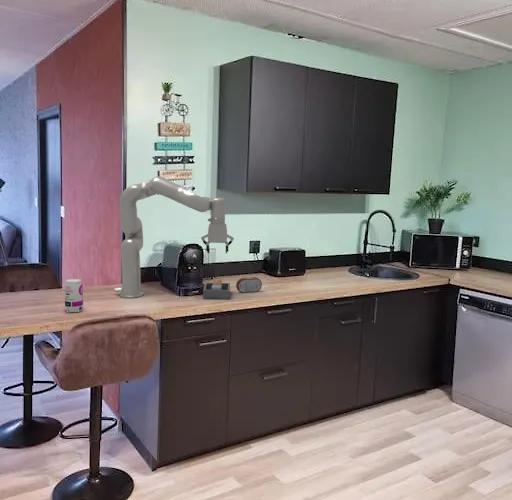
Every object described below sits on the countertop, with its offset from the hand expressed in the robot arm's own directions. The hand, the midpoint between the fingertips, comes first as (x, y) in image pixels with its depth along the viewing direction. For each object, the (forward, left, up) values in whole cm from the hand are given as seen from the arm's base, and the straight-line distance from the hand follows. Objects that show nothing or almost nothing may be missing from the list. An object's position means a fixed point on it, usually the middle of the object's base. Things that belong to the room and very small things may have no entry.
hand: (217, 253), depth 282 cm
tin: (+18, +13, -25) cm, 33 cm away
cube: (0, 0, -23) cm, 23 cm away
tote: (0, +4, -24) cm, 25 cm away
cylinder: (0, +8, -23) cm, 25 cm away
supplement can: (-67, -31, -24) cm, 78 cm away
